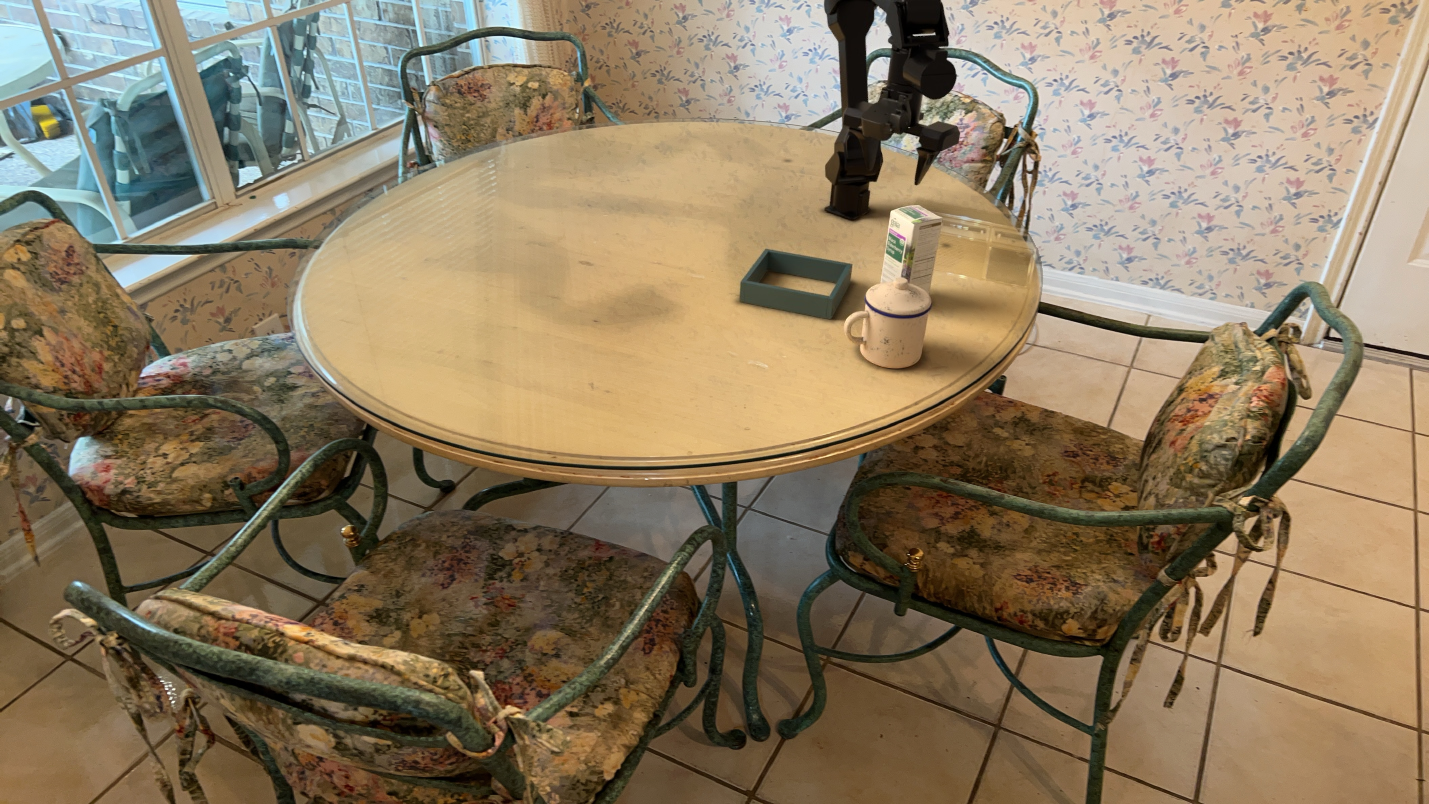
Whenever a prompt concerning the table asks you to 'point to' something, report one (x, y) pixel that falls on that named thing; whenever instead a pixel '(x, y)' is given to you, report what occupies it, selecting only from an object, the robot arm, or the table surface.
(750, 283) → the teal square frame
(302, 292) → the table surface
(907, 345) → the teacup with lid
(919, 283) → the syrup box
